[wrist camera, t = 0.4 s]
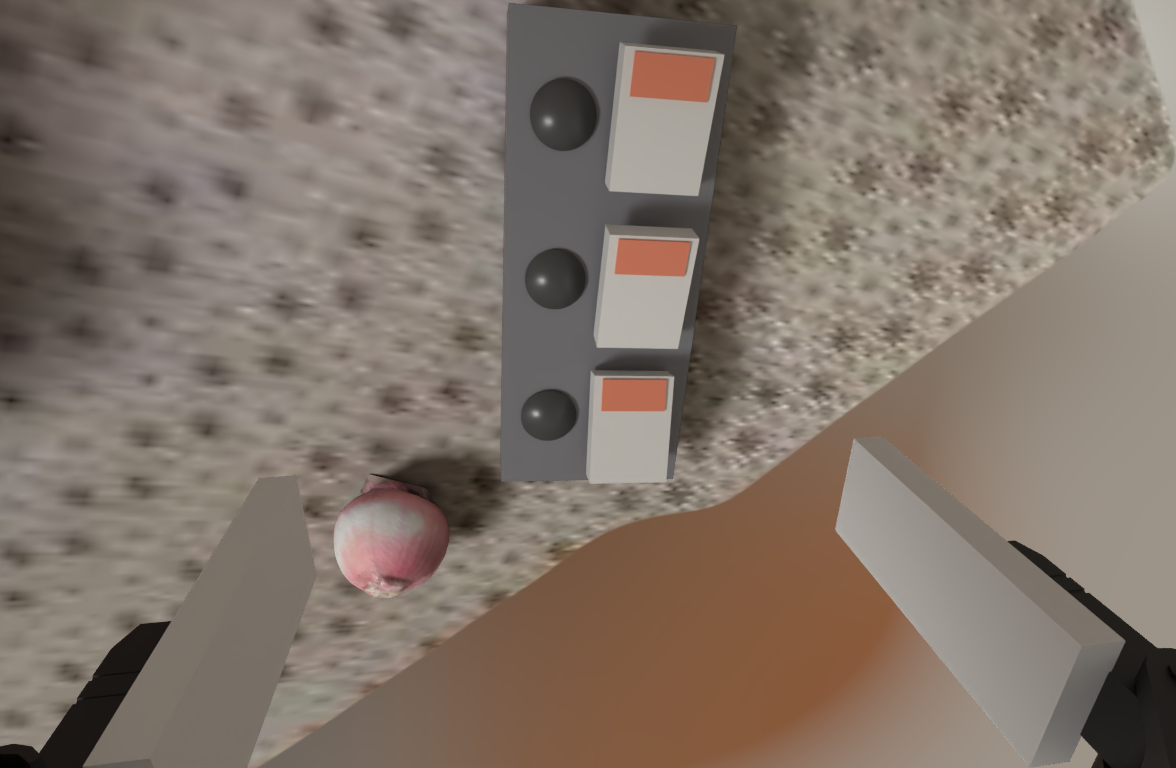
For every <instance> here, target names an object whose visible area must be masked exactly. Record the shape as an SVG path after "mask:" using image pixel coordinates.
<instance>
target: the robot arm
mask: <svg viewBox="0 0 1176 768" xmlns="http://www.w3.org/2000/svg"><path fill="white" fill-rule="evenodd" d="M835 530H836V531H837V533H838V534H839V535H840V536H841V538H842V539H843V540H844V541H845V543H846V544H847V545H848V546H849V547H850V549H851V550H852V551H853V552H854V553H855V555H856V556H857V557H858V558H859V560H860V561H861V562H862V563H863V565H864V566H865V567H866V568H867V569H868V571H869V572H870V573H871V574H872V576H873V577H874V578H875V579H876V580H877V582H878V583H879V584H880V585H881V587H882V588H883V589H884V590H885V591H886V593H887V594H888V595H889V596H890V598H891V599H892V600H893V601H894V602H895V604H896V605H897V606H898V607H899V609H900V610H901V611H902V612H903V613H904V615H905V616H906V617H907V618H908V620H909V621H910V622H911V623H912V624H913V626H914V627H915V628H916V629H917V630H918V632H919V633H920V634H921V635H922V636H923V638H924V639H925V640H926V642H927V643H928V644H929V645H930V646H931V648H932V649H933V650H934V651H935V653H936V654H937V655H938V656H939V657H940V659H941V660H942V661H943V662H944V664H946V666H947V667H948V668H949V670H950V671H951V672H952V673H953V675H954V676H955V677H956V678H957V679H958V681H959V682H960V683H961V684H962V686H963V687H964V688H965V689H966V690H967V692H968V693H969V694H970V695H971V697H972V698H973V699H974V700H975V701H976V703H977V704H978V705H979V706H980V708H981V709H982V710H983V711H984V712H985V714H986V715H987V716H988V717H989V719H990V720H991V721H992V722H993V723H994V725H995V726H996V727H997V728H998V730H999V731H1000V732H1001V733H1002V734H1003V736H1004V737H1005V738H1006V739H1007V741H1008V742H1009V743H1010V744H1011V745H1012V747H1013V748H1014V749H1015V750H1016V752H1017V753H1018V754H1019V755H1020V756H1021V758H1022V759H1023V760H1024V761H1025V763H1027V765H1028V766H1029V767H1036V766H1043V765H1050V764H1056V763H1063V762H1069V761H1070V759H1071V757H1072V755H1073V753H1074V751H1075V749H1076V746H1077V744H1078V742H1079V740H1080V738H1081V736H1082V737H1083V738H1084V739H1085V740H1086V741H1087V742H1088V743H1089V744H1090V745H1091V747H1092V748H1093V749H1095V751H1096V752H1097V753H1098V755H1097V757H1096V759H1095V761H1094V763H1093V765H1092V767H1091V768H1176V649H1172V648H1157V647H1155V646H1154V645H1153V644H1152V643H1150V642H1149V641H1148V640H1147V639H1145V638H1144V637H1143V636H1142V635H1140V634H1139V633H1138V632H1137V631H1135V630H1134V629H1133V628H1132V627H1131V626H1129V625H1128V624H1127V623H1126V622H1124V621H1123V620H1122V619H1121V618H1120V617H1118V616H1117V615H1116V614H1115V613H1113V612H1112V611H1111V610H1110V609H1108V608H1107V607H1106V606H1104V605H1103V604H1102V603H1101V602H1100V601H1099V600H1097V599H1096V598H1095V597H1094V596H1092V595H1091V594H1090V593H1085V591H1084V588H1083V587H1081V586H1080V585H1079V584H1078V583H1076V582H1075V581H1074V580H1073V579H1071V578H1067V577H1066V574H1065V573H1064V572H1063V571H1061V570H1060V569H1059V568H1058V567H1057V566H1055V565H1054V564H1053V563H1052V562H1050V561H1049V560H1048V559H1047V558H1046V557H1044V556H1043V555H1041V554H1039V553H1037V552H1035V551H1033V550H1032V549H1030V548H1028V547H1026V546H1024V545H1022V544H1020V543H1018V542H1017V541H1006V540H1005V539H1004V538H1003V537H1001V536H1000V535H999V534H998V533H997V532H995V531H994V530H993V529H992V528H991V527H989V526H988V525H987V524H986V523H985V522H984V521H982V520H981V519H980V518H979V517H978V516H976V515H975V514H974V513H973V512H972V511H970V510H969V509H968V508H967V507H966V506H964V505H963V504H962V503H961V502H960V501H958V500H957V499H956V498H955V497H954V496H953V495H951V494H950V493H949V492H948V491H946V490H945V489H944V488H943V487H942V486H941V485H939V484H938V483H937V482H936V481H935V480H933V479H932V478H931V477H930V476H929V475H928V474H926V473H925V472H924V471H922V469H920V468H919V467H918V466H917V465H916V464H914V463H913V462H912V461H911V460H910V459H909V458H907V457H906V456H905V455H904V454H902V453H901V452H900V451H899V450H898V449H896V448H895V447H894V446H893V445H892V444H891V443H889V442H888V441H887V440H886V439H885V438H884V437H870V438H869V437H868V438H854V440H853V445H852V450H851V455H850V459H849V464H848V469H847V474H846V479H845V485H844V489H843V494H842V499H841V504H840V509H839V514H838V519H837V524H836V529H835ZM316 576H317V575H316V570H315V565H314V560H313V555H312V550H311V546H310V541H309V536H308V531H307V526H306V521H305V517H304V512H303V507H302V502H301V497H300V492H299V488H298V483H297V478H296V476H281V477H266V478H259V479H258V480H257V482H256V484H255V485H254V487H253V489H252V490H251V492H250V494H249V495H248V497H247V498H246V500H245V502H244V503H243V505H242V507H241V508H240V510H239V512H238V513H237V515H236V516H235V518H234V520H233V521H232V523H231V525H230V526H229V528H228V530H227V531H226V533H225V534H224V536H223V538H222V539H221V541H220V543H219V544H218V546H217V548H216V549H215V551H214V552H213V554H212V556H211V557H210V559H209V561H208V562H207V564H206V566H205V567H204V569H203V570H202V572H201V574H200V575H199V577H198V579H197V580H196V582H195V584H194V585H193V587H192V588H191V590H190V592H189V593H188V595H187V597H186V598H185V600H184V602H183V603H182V605H181V606H180V608H179V610H178V611H177V613H176V615H175V616H174V618H173V620H172V621H168V622H157V623H146V624H140V625H139V626H138V627H136V628H135V629H134V630H133V631H132V632H131V633H129V634H128V635H127V636H126V637H125V638H123V639H122V640H121V641H120V642H119V643H117V644H116V645H115V646H114V647H113V648H112V649H111V650H110V651H109V653H108V654H107V656H106V657H105V659H104V660H103V661H102V663H101V664H100V666H99V667H98V669H97V670H96V672H95V673H94V675H93V679H92V681H89V682H88V683H87V685H86V686H85V688H84V689H83V690H82V692H81V693H80V695H79V696H78V698H77V703H76V704H73V705H72V706H71V708H70V709H69V711H68V712H67V714H66V715H65V716H64V718H63V719H62V721H61V722H60V724H59V725H58V727H57V728H56V730H55V731H54V732H53V734H52V735H51V737H50V738H49V740H48V741H47V743H46V744H45V745H44V747H43V748H42V750H41V751H40V753H38V752H37V751H36V750H35V749H34V748H33V747H32V746H25V745H18V744H10V745H5V746H0V768H247V766H248V763H249V760H250V758H251V755H252V752H253V749H254V747H255V744H256V741H257V738H258V736H259V733H260V730H261V727H262V725H263V722H264V719H265V716H266V713H267V711H268V708H269V705H270V702H271V700H272V697H273V694H274V691H275V689H276V686H277V683H278V680H279V678H280V675H281V672H282V669H283V667H284V664H285V661H286V658H287V656H288V653H289V650H290V647H291V645H292V642H293V639H294V636H295V633H296V631H297V628H298V625H299V622H300V620H301V617H302V614H303V611H304V609H305V606H306V603H307V600H308V598H309V595H310V592H311V589H312V587H313V584H314V581H315V578H316Z"/></svg>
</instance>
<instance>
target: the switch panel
mask: <svg viewBox="0 0 1176 768" xmlns="http://www.w3.org/2000/svg"><path fill="white" fill-rule="evenodd" d="M736 29H737V26H736V25H726V24H716V23H706V22H696V21H686V20H676V19H666V18H656V17H645V16H635V15H625V14H615V13H605V12H595V11H585V10H575V9H565V8H555V7H545V6H535V5H525V4H515V3H509V6H508V11H507V55H506V120H505V184H504V248H503V312H502V377H501V441H500V459H501V481H561V480H588V478H587V475H586V465H587V442H588V420H589V398H590V376H591V370H620V371H668V372H669V373H670V374H672V375H673V376H674V387H673V400H672V413H671V426H670V439H669V452H668V465H667V478H666V479H673V475H674V468H675V461H676V454H677V447H678V440H679V433H680V426H681V419H682V411H683V404H684V397H685V390H686V383H687V376H688V369H689V362H690V355H691V348H692V341H693V334H694V326H695V319H696V312H697V305H698V298H699V291H700V284H701V277H702V270H703V263H704V256H705V249H706V241H707V234H708V227H709V220H710V213H711V206H712V199H713V192H714V185H715V178H716V171H717V163H718V156H719V149H720V142H721V135H722V128H723V121H724V114H725V107H726V100H727V93H728V86H729V78H730V71H731V64H732V57H733V50H734V43H735V36H736ZM620 42H625V43H636V44H646V45H657V46H668V47H679V48H690V49H701V50H711V51H717V52H719V53H722V54H724V60H723V66H722V71H721V76H720V82H719V87H718V93H717V98H716V103H715V109H714V114H713V119H712V125H711V130H710V135H709V141H708V146H707V151H706V157H705V162H704V167H703V173H702V178H701V183H700V189H699V194H698V196H687V195H669V194H651V193H633V192H614V191H609V190H608V188H607V186H606V184H605V177H606V168H607V158H608V149H609V139H610V130H611V120H612V111H613V101H614V91H615V82H616V72H617V63H618V53H619V44H620ZM605 224H607V225H628V226H650V227H671V228H692V229H693V231H694V232H695V233H696V235H697V236H698V237H699V244H698V249H697V254H696V259H695V264H694V269H693V274H692V279H691V284H690V290H689V295H688V300H687V305H686V310H685V315H684V320H683V325H682V331H681V336H680V341H679V346H678V349H655V348H597V346H596V342H595V338H594V335H593V334H594V325H595V316H596V307H597V298H598V288H599V279H600V270H601V261H602V252H603V243H604V234H605Z"/></svg>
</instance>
